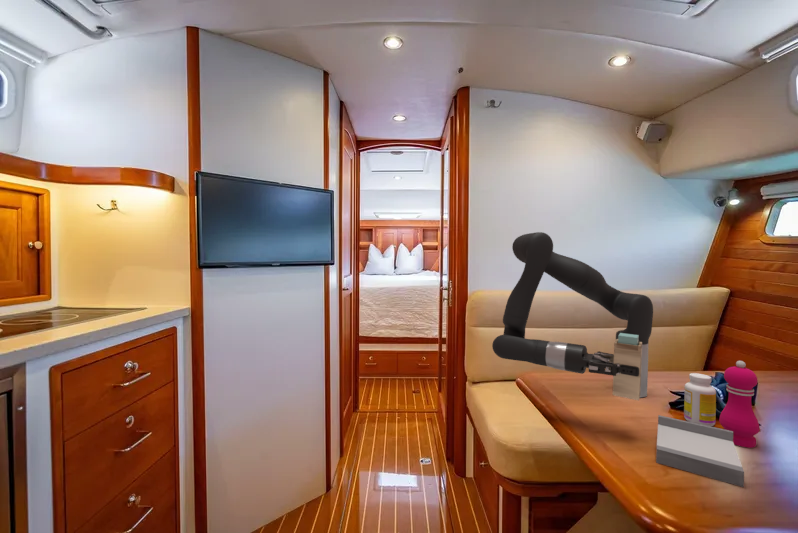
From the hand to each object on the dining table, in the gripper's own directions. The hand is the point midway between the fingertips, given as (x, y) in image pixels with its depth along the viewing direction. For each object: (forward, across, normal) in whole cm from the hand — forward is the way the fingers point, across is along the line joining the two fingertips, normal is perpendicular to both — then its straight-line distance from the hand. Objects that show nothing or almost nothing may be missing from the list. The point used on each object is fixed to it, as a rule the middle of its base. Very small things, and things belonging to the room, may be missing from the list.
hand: (639, 368), depth 89 cm
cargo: (-3, 0, -5) cm, 6 cm away
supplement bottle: (+13, +22, +18) cm, 31 cm away
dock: (+11, -2, +18) cm, 21 cm away
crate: (-3, 0, +7) cm, 7 cm away
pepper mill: (+20, +14, +18) cm, 30 cm away
